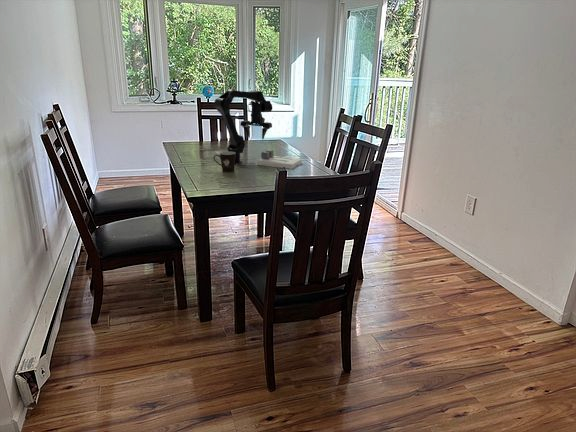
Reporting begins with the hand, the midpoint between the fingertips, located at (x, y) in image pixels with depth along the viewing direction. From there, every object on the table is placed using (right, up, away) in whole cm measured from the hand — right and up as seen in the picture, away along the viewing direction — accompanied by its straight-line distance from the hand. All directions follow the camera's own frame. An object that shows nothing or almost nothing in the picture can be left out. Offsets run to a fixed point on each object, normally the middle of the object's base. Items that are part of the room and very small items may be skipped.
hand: (255, 138), depth 263 cm
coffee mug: (-15, -22, -25) cm, 37 cm away
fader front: (+6, -13, -5) cm, 15 cm away
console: (+15, -16, -6) cm, 23 cm away
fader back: (+8, -11, 0) cm, 14 cm away
